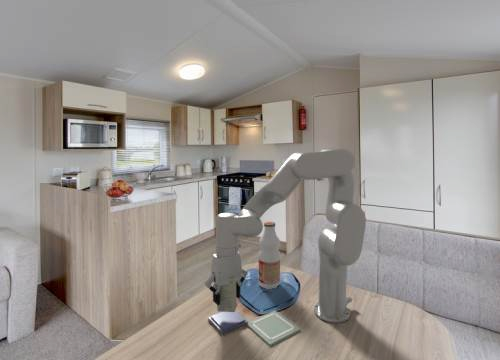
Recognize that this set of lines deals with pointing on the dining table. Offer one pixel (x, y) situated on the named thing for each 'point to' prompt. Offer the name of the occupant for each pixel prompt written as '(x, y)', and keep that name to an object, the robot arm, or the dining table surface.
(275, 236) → the fruit juice
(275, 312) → the marked board
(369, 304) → the dining table surface
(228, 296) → the skincare box
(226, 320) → the ink pad
